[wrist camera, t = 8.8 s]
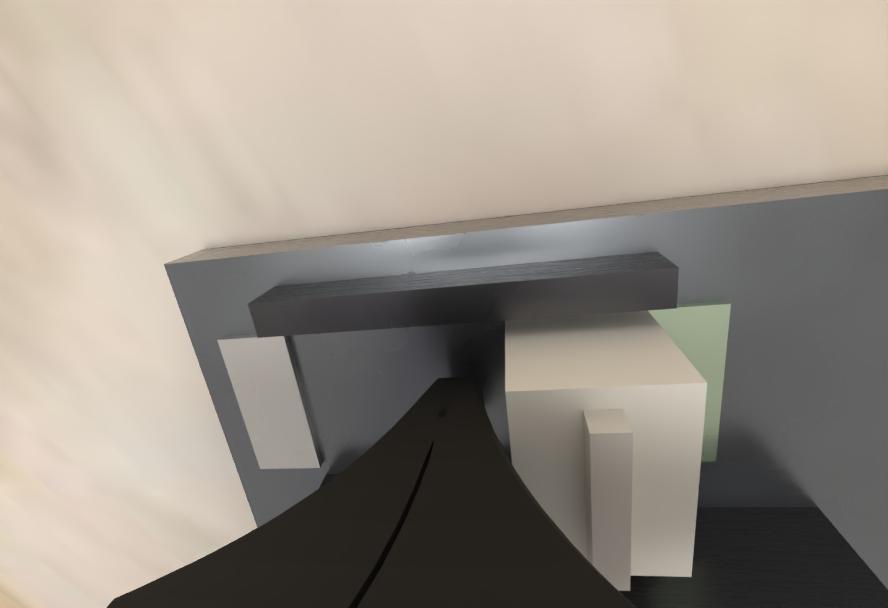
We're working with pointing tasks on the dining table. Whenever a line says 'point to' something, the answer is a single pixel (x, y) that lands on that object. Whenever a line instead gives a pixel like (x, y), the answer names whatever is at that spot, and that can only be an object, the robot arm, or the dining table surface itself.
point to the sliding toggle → (609, 437)
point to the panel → (583, 293)
